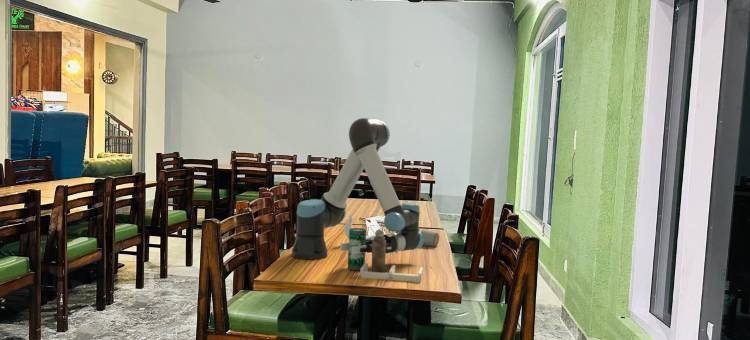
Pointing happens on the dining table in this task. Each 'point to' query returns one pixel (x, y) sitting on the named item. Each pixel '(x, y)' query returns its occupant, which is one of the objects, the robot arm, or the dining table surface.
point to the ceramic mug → (430, 238)
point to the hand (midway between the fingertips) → (346, 248)
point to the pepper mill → (378, 252)
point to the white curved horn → (349, 226)
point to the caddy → (391, 274)
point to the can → (355, 239)
